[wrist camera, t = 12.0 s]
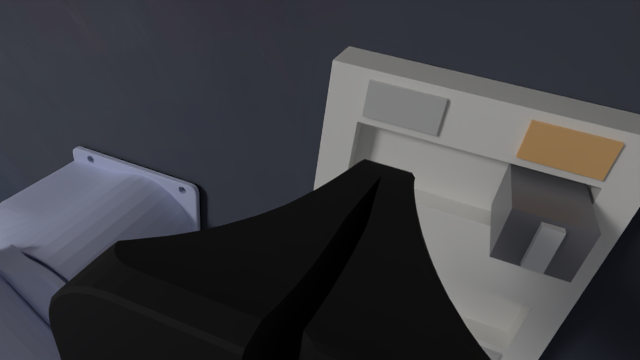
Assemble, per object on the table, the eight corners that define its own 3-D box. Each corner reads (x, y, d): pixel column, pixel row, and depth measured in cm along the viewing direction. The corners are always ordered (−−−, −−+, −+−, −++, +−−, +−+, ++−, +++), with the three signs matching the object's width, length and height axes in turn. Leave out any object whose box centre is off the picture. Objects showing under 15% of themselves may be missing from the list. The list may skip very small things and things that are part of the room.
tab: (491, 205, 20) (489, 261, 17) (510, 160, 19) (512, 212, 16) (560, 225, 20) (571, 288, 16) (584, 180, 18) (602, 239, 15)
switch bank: (311, 276, 28) (295, 305, 26) (349, 46, 20) (331, 61, 18) (518, 351, 26) (519, 390, 24) (660, 119, 17) (682, 147, 15)
